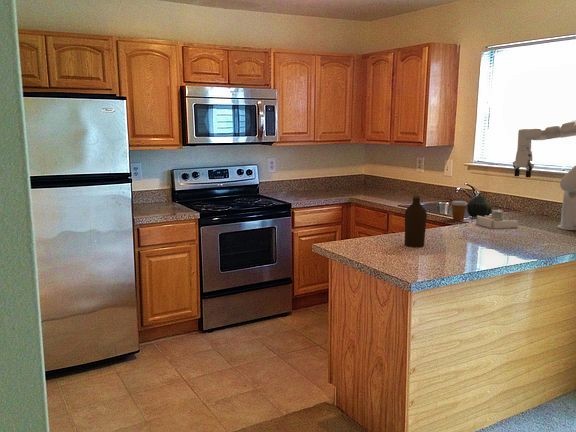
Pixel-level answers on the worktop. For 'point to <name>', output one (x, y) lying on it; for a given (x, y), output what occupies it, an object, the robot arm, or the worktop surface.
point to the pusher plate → (492, 218)
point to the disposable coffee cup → (458, 210)
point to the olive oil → (415, 223)
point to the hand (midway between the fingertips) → (522, 176)
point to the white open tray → (495, 223)
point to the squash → (479, 207)
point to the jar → (497, 214)
